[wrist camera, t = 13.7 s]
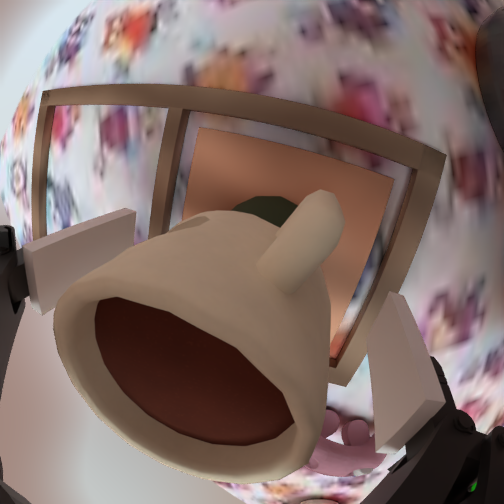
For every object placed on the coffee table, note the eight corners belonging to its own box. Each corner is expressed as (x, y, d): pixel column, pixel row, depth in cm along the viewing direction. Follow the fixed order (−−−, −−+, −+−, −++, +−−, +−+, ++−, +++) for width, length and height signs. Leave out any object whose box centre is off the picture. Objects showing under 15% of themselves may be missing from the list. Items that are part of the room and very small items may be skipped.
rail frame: (50, 91, 18) (42, 91, 17) (440, 155, 13) (446, 154, 12) (40, 253, 24) (34, 256, 23) (346, 378, 19) (345, 386, 18)
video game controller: (294, 388, 23) (265, 458, 18) (315, 376, 19) (282, 460, 15) (381, 418, 22) (362, 482, 17) (411, 409, 18) (392, 484, 14)
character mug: (279, 136, 15) (131, 83, 3) (375, 215, 15) (478, 373, 3) (184, 269, 20) (45, 391, 8) (263, 332, 20) (191, 499, 8)
